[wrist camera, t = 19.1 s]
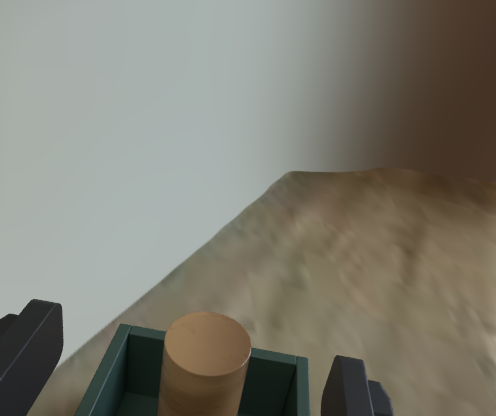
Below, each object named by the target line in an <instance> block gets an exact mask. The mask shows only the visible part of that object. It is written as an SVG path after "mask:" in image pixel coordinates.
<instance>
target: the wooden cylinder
mask: <svg viewBox="0 0 496 416" xmlns="http://www.w3.org/2000/svg"><path fill="white" fill-rule="evenodd" d="M250 354H251V340H250V337H249V335H248V333H247V332H246V330H245V329H244V328H243V327H242V326H241V325H240V324H239V323H238V322H236V321H235V320H233V319H231V318H230V317H227V316H225V315H222V314H218V313H213V312H196V313H191V314H188V315H185V316H183V317H181V318H179V319H177V320H176V321H175V322H173V323H172V325H171V326H170V327H169V328H168V330H167V332H166V334H165V339H164V349H163V360H162V370H161V380H160V391H159V401H158V411H157V416H237V414H238V409H239V404H240V400H241V395H242V391H243V386H244V381H245V377H246V372H247V368H248V363H249V359H250Z"/></svg>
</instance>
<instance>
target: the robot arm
mask: <svg viewBox="0 0 496 416" xmlns="http://www.w3.org/2000/svg"><path fill="white" fill-rule="evenodd" d="M62 350H63V320H62V306H61V304H59V303H53V302H48V301H42V300H38V299H33V300H31V301H30V302H29V303H28V304H27V306H26V307H25V308H24V309H23V310H22V312H21V313H20V314H19V315H15V314H8V315H6V316H5V317H3V318H2V319H0V416H26V415H27V413H28V411H29V410H30V408H31V407H32V405H33V403H34V402H35V400H36V398H37V397H38V395H39V393H40V392H41V390H42V388H43V387H44V385H45V384H46V382H47V380H48V379H49V377H50V375H51V374H52V372H53V370H54V369H55V367H56V365H57V364H58V362H59V359H60V356H61V353H62ZM321 416H394V412H393V408H392V404H391V400H390V398H389V396H388V395H387V393H386V391H385V390H384V388H383V387H382V385H381V384H380V382H375V381H370V380H367V375H366V370H365V365H364V361H363V360H361V359H355V358H350V357H344V356H339V355H336V357H335V358H334V361H333V364H332V367H331V370H330V373H329V376H328V379H327V382H326V385H325V388H324V391H323V395H322V401H321Z"/></svg>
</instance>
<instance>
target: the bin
mask: <svg viewBox="0 0 496 416" xmlns="http://www.w3.org/2000/svg"><path fill="white" fill-rule="evenodd" d="M165 334H166V332H165V331H159V330H154V329H148V328H143V327H138V326H131V325H127V324H120V325H119V327H118V329H117V331H116V333H115V335H114V337H113V339H112V341H111V343H110V345H109V347H108V349H107V351H106V353H105V355H104V357H103V359H102V361H101V363H100V365H99V367H98V369H97V371H96V373H95V375H94V377H93V379H92V381H91V383H90V385H89V387H88V389H87V391H86V393H85V395H84V397H83V399H82V401H81V403H80V405H79V407H78V409H77V411H76V413H75V415H74V416H157V411H158V401H159V391H160V380H161V370H162V360H163V349H164V339H165ZM237 416H310V391H309V365H308V358H305V357H299V356H297V357H296V356H294V355H288V354H283V353H278V352H272V351H267V350H262V349H256V348H251V354H250V359H249V363H248V368H247V372H246V377H245V381H244V386H243V391H242V395H241V400H240V404H239V409H238V414H237Z"/></svg>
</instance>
